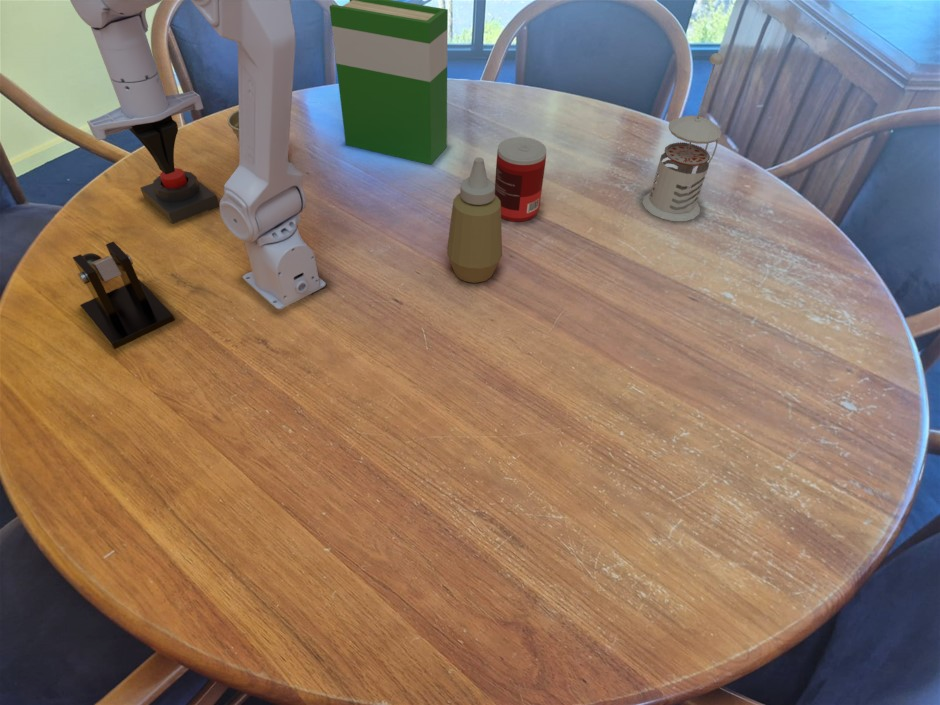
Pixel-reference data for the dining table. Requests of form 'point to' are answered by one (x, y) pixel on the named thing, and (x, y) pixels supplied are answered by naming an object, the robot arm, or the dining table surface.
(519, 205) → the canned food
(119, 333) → the bracket
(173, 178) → the button
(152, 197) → the button box
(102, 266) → the lever
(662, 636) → the dining table surface
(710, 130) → the french press
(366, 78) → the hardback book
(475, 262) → the squeeze bottle
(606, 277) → the dining table surface
